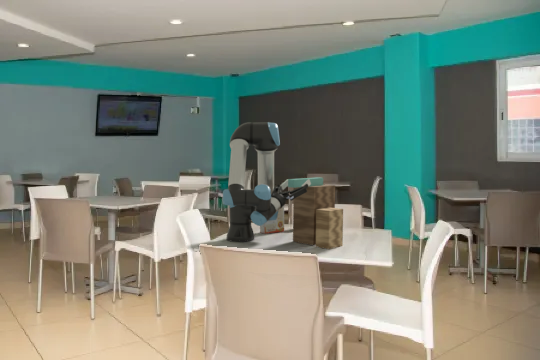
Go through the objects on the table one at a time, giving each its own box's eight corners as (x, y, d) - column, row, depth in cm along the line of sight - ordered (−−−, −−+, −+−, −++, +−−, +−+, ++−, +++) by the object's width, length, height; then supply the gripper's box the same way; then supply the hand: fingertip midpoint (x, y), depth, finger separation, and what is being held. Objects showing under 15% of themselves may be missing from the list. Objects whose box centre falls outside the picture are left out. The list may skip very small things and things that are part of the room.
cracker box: (278, 230, 294) (279, 196, 292) (284, 232, 289) (284, 197, 287) (259, 232, 286) (259, 197, 285) (264, 234, 281) (264, 198, 280)
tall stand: (313, 245, 249) (314, 187, 247) (292, 241, 259) (293, 185, 257) (334, 240, 262) (335, 185, 260) (313, 237, 272) (314, 184, 270)
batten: (294, 187, 243) (294, 179, 243) (288, 187, 246) (288, 179, 246) (323, 185, 261) (323, 177, 260) (317, 184, 263) (317, 177, 263)
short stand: (328, 249, 240) (329, 210, 239) (315, 246, 245) (316, 209, 244) (342, 245, 249) (343, 208, 247) (329, 243, 254) (330, 207, 253)
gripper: (259, 208, 246) (282, 187, 259) (297, 210, 229) (320, 188, 242) (253, 195, 243) (278, 175, 256) (292, 197, 226) (316, 175, 239)
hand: (299, 181), depth 249 cm, fingers open, 13 cm apart
